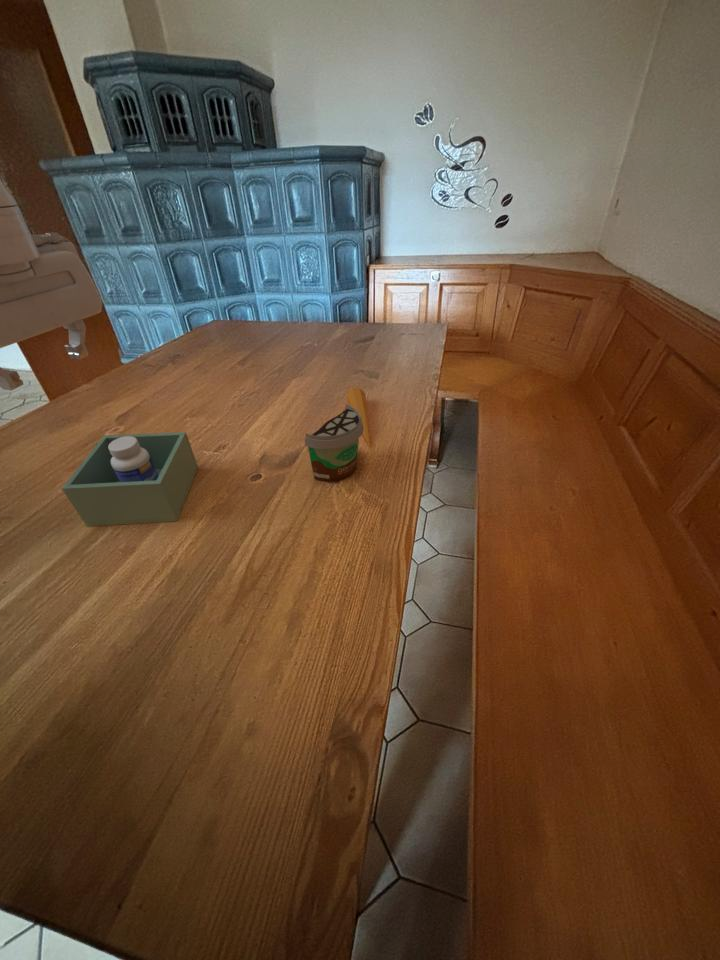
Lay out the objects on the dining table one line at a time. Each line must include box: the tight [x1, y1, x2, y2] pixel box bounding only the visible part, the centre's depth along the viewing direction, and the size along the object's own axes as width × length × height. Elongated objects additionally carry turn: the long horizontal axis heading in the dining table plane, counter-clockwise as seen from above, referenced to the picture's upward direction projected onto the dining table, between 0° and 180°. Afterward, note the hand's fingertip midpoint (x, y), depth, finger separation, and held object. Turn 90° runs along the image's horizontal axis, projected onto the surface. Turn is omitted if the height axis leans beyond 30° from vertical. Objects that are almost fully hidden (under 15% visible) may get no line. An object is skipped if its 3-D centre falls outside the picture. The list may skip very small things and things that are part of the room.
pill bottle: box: [108, 436, 159, 482], centre depth 61 cm, size 5×5×10 cm
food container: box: [304, 403, 363, 483], centre depth 66 cm, size 12×6×10 cm, turn 147°
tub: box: [61, 431, 199, 527], centre depth 62 cm, size 14×14×8 cm
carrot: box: [346, 386, 372, 450], centre depth 81 cm, size 20×4×4 cm, turn 10°
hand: (49, 371), depth 48 cm, fingers open, 8 cm apart
